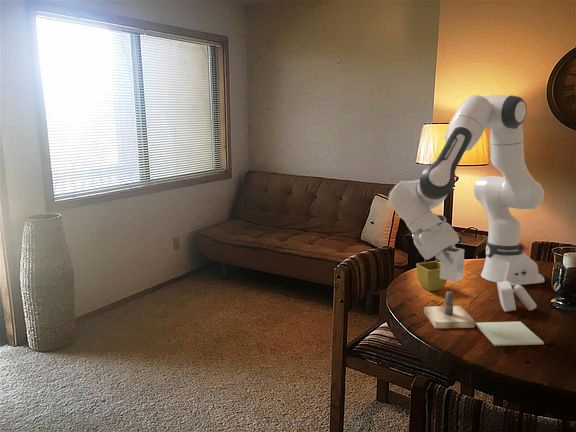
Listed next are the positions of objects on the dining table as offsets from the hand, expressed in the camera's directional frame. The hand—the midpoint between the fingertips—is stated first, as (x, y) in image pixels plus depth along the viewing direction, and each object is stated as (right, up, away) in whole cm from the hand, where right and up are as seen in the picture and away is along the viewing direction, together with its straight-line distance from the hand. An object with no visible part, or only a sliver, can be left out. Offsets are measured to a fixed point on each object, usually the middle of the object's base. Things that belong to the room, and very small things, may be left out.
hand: (454, 262), depth 156 cm
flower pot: (+2, -13, +31) cm, 34 cm away
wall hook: (+24, -17, +12) cm, 32 cm away
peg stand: (0, -18, +4) cm, 19 cm away
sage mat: (+14, -21, -6) cm, 26 cm away
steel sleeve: (0, -5, +2) cm, 5 cm away
